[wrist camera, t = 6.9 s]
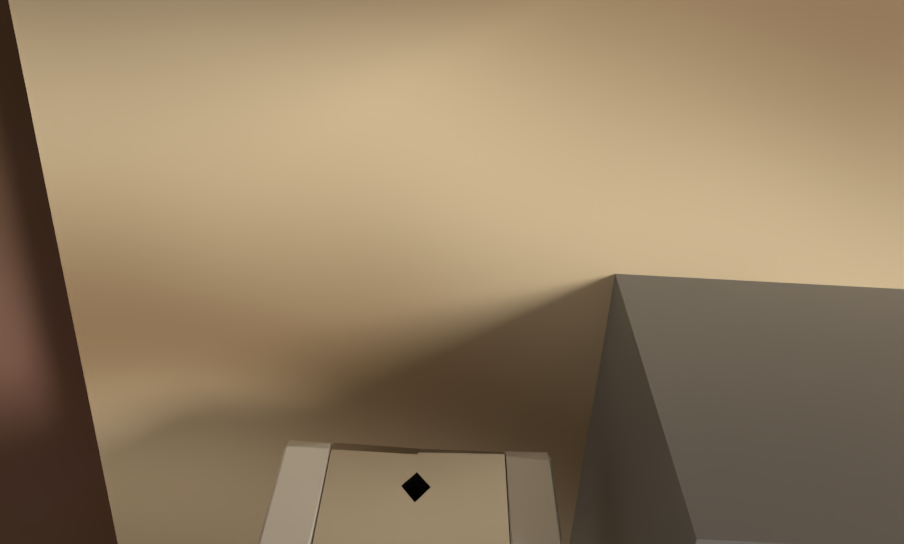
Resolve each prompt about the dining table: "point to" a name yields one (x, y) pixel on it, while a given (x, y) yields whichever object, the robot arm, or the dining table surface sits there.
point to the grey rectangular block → (746, 415)
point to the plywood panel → (426, 212)
